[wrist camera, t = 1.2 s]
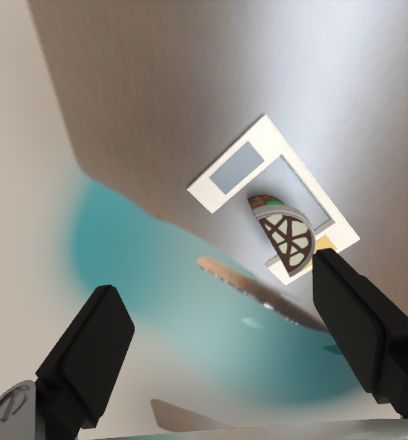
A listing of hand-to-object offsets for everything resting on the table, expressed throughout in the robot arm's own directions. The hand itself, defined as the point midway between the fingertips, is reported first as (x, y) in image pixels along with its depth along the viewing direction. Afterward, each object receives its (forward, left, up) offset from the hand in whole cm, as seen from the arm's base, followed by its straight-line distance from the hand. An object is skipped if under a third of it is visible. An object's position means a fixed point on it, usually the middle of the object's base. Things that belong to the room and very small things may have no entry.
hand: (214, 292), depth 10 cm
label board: (-3, +13, -27) cm, 31 cm away
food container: (-3, +13, -28) cm, 31 cm away
